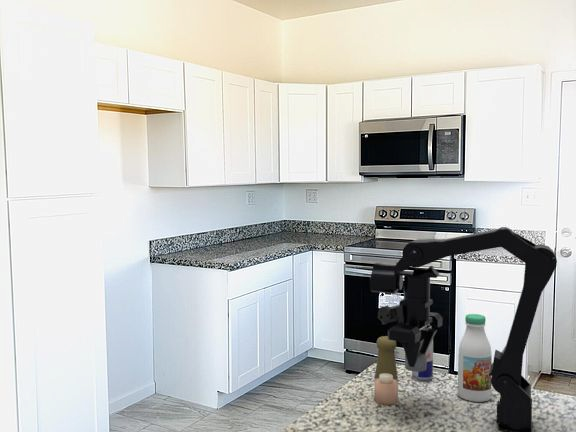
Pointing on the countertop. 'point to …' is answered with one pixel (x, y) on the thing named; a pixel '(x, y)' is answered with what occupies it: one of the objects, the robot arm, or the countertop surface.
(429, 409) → the countertop surface
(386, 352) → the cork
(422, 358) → the cap
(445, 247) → the robot arm
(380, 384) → the jar
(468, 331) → the milk bottle
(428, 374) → the energy drink
